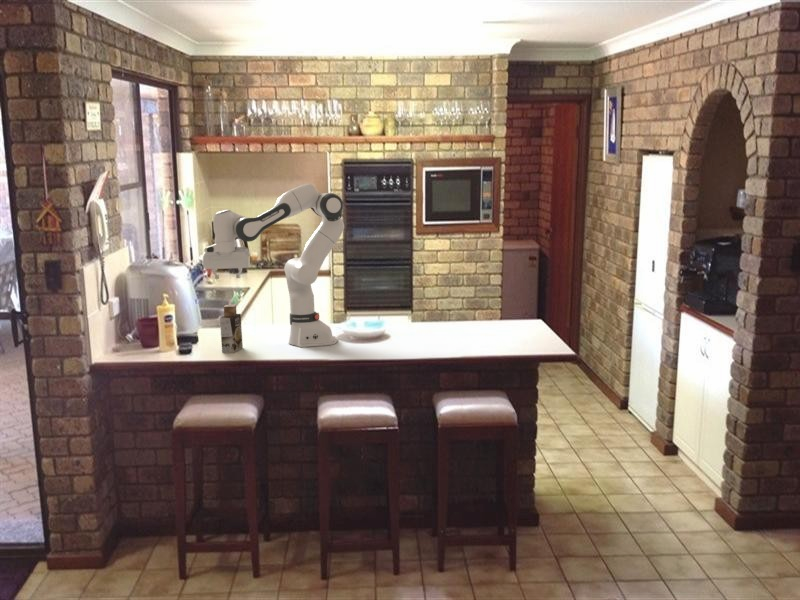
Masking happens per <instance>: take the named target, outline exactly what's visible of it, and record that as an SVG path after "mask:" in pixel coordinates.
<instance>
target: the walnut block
mask: <svg viewBox="0 0 800 600" xmlns="http://www.w3.org/2000/svg"><path fill="white" fill-rule="evenodd" d="M236 314H238V313H237V305H236V304H225V305H224V306H223V316H224V317H232V316H235V315H236Z"/></svg>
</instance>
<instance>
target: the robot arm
mask: <svg viewBox="0 0 800 600" xmlns="http://www.w3.org/2000/svg"><path fill="white" fill-rule="evenodd" d="M308 209H311V211H313V213H314V214H316V215H317V216H319V217H321V221H320V223H319V225H318V226H317V228H316V229H315V231H314V232H313V233H312V235H311V236H310V238H308V240H307V241H306V243H305V246H304V249H303V251H302V253H301V255H300V257H294V258H290V259H288V260H287V261H286V262H285V264H284V266H283V267H284V274H285V278H286V285H287V289H288V294H289V306H290V313H289V324H290V335H289V339H288V344H289V345H292V346H295V347H296V346H297V347H298V348H299V347H300V348H308V347H310V348H311V347H319V346H321V347H323V346H333V345H335V344H337V342H338V338H337V337H336V336H334V335H333V332H332V329H331V327H330V326H329V325H328V324H326V323H325V322H323V321H321V320H320V313H319V312H316V311H315V296H314V292H313V289H312V284H313V283H315V282H316V281H317V279H318V274H319V272H320V270H321V268H322V266H323V264H324V262H325V260H326V258H327V256H328V255H329V253H331V251H332V249H333V248H334V247H335V245H336V244H337V243H338V242H339V241H338V240H340V238H341V236H342V234H343V232H344V229H345V223H344V221H343V220H342V219H341V218H342V216H343V215H342V213H343V209H344V203H343V199H342V198H341V197H340V196H339V195H338V194H336V193H332V192H331V193H330V192H325V193H323V192H321V193H320V192H319V191H318V189H317V188H316V186H315V185H313V184H311V183H304V184H301V185H299V186H296V187H294V188H291V189H289V190H287V191H286V192H284V193H282V194H281V195H280V196H279V197H277V199H276V201H275V204H274V206H273V207H271V208H270V209H268V210H266V211H265V212H263V213H261V214H260V215H258V216H256V217H247V216H244V215H242V214H238V213H236V212H235V211H234V212H233V210H231V209H224V210H220V211H217V212H216V213H215V214H214V215H213V233H214V244H210V245H208V246H206V247H204V250H203V251H204V254H203V257H202V267H203V269H205V270H211V272H212V274H213V275H214V279H216V280H217V279H220V275H219V274H218V273H217V272H216V271H217V269H218V270H219V269H220V270H221V269H237V270H238V273H236V274H235V277H236V279H240V278H241V273H242V271H243V269H249V267H250V266H251V261H250V254H251V253H250V249H249V248H248V247H246V246H237V245H236V239H237V238H239V239H240V240H242V241H244V242H249V243H250V242H253V241H255V240H257V238H259V237H260V235H261V234H262V233H263V231H264V230H266V229H268V228H271V226H273V225H275V224H276V223H279V222H281V221H282V220H286V219H288V218H291V217H294V216H297V215H299V214H300V213H302V212H304V211H306V210H308Z"/></svg>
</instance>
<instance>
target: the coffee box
mask: <svg viewBox="0 0 800 600" xmlns="http://www.w3.org/2000/svg"><path fill="white" fill-rule="evenodd" d="M219 321H220V323H219V324H220V325H219V326H220V338H221V339H220V340H221V341H220V342H221V352H222V353H228V354H229V353H230V354H235V353H237V352H238V351H240V350H242V349H243V331H242V330H243V329H242V315H241V313H237V314H236V315H235V316H232V317H224V315H223V316H220V318H219Z"/></svg>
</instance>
